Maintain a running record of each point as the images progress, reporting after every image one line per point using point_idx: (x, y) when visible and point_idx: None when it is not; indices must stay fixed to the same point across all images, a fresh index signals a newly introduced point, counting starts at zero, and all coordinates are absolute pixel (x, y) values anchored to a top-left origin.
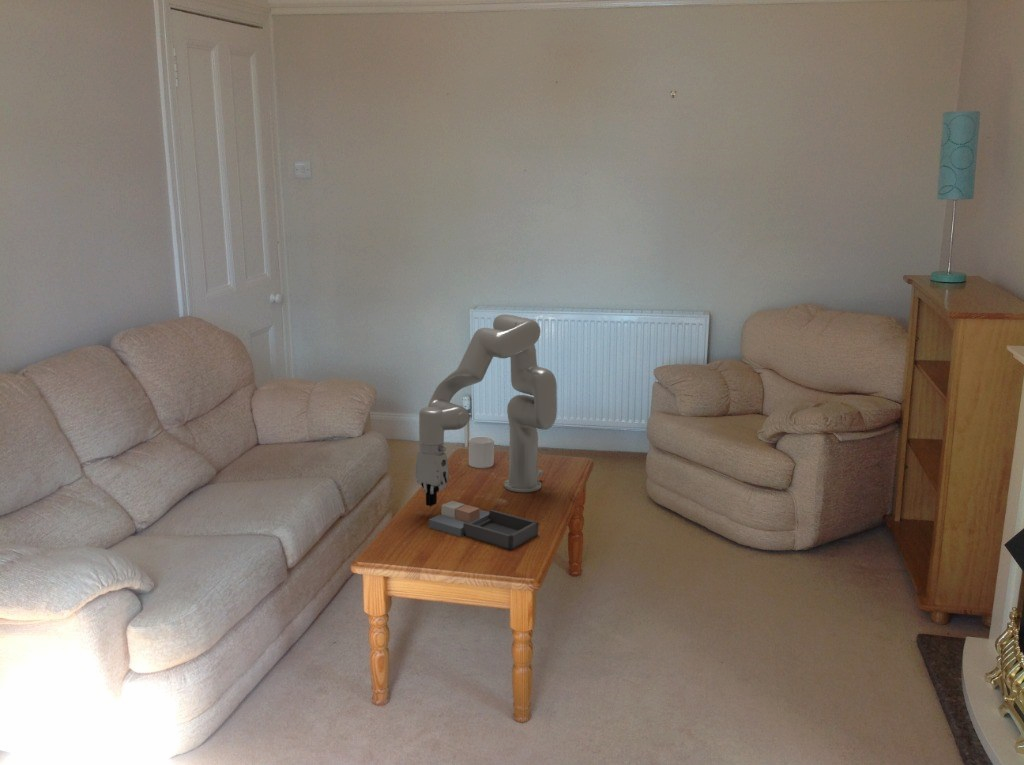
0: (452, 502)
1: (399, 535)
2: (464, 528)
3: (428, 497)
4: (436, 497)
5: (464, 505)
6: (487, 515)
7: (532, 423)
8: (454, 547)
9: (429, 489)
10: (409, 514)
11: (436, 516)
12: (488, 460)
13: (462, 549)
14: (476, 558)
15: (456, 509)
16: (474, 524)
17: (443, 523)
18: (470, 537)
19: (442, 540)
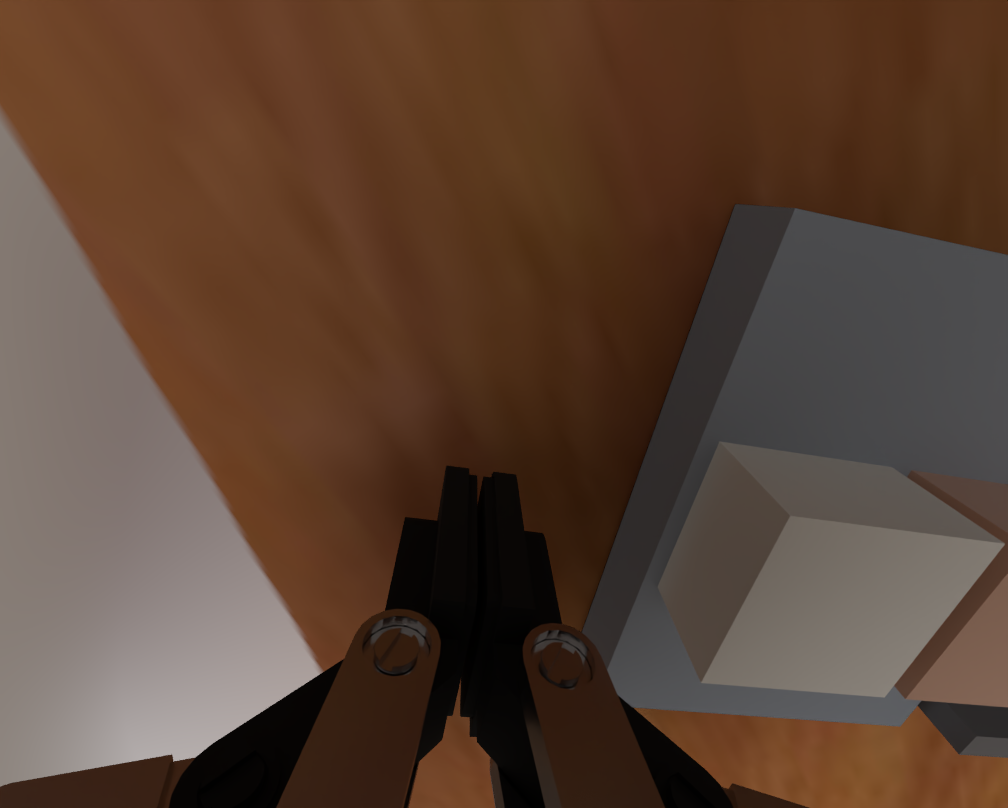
0: (818, 564)
1: (467, 783)
2: (929, 709)
3: (463, 670)
4: (552, 582)
5: (1004, 579)
6: None
7: None
8: (842, 767)
9: (425, 735)
10: (272, 508)
11: (629, 636)
12: None
13: (892, 767)
14: (979, 802)
15: (908, 697)
16: None
17: (742, 711)
18: None
19: (748, 736)
